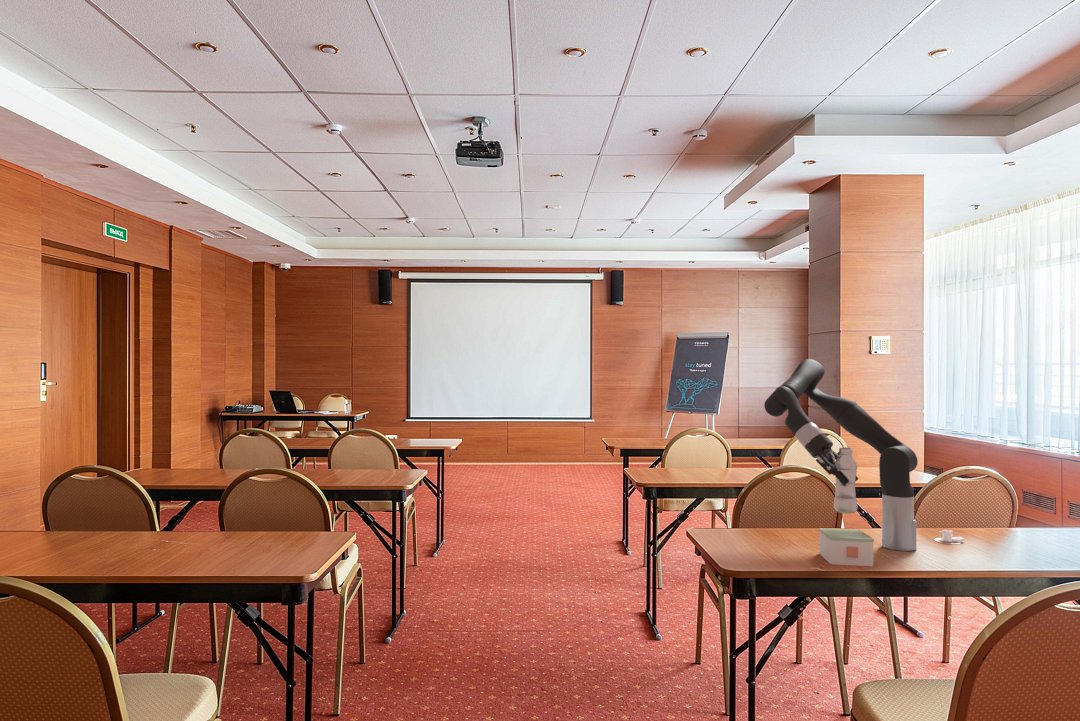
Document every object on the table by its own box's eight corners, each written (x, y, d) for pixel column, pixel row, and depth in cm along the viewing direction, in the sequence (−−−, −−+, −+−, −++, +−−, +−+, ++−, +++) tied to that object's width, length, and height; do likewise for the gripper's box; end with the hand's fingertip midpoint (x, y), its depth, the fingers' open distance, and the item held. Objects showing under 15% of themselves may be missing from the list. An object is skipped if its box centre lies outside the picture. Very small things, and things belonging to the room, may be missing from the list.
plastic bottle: (857, 516, 201) (858, 449, 201) (833, 514, 204) (833, 448, 204) (857, 512, 207) (857, 447, 207) (833, 510, 210) (834, 446, 210)
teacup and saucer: (964, 542, 230) (964, 530, 230) (963, 547, 223) (963, 534, 223) (934, 538, 235) (934, 526, 235) (933, 543, 228) (933, 531, 228)
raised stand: (859, 555, 210) (859, 529, 210) (874, 566, 198) (874, 539, 198) (818, 553, 212) (819, 528, 212) (831, 564, 199) (831, 537, 199)
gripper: (815, 445, 220) (852, 487, 211) (794, 448, 210) (832, 492, 201) (831, 430, 216) (869, 472, 207) (811, 433, 206) (850, 476, 197)
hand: (851, 482), depth 204 cm, fingers closed on plastic bottle, 6 cm apart
